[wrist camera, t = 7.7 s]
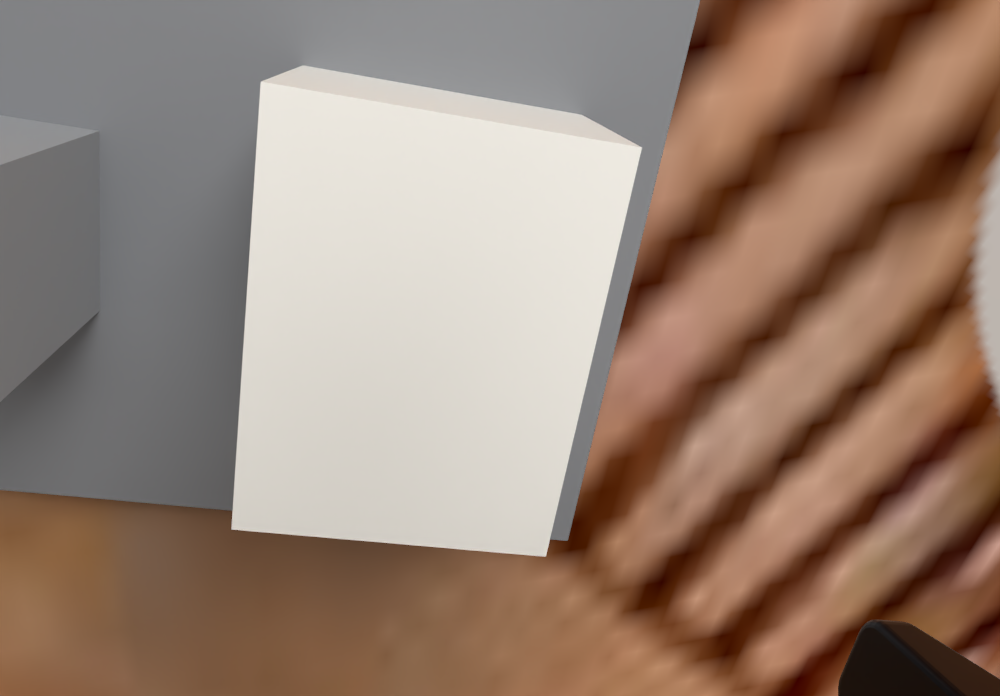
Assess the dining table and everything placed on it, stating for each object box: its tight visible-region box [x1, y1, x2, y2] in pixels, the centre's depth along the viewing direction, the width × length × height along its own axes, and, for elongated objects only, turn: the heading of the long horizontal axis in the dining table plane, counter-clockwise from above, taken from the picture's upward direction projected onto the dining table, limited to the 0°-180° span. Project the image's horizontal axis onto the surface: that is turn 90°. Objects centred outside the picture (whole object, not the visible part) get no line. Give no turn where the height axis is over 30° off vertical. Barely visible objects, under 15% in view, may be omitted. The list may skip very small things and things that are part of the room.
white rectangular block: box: [231, 65, 642, 557], centre depth 16 cm, size 8×6×5 cm
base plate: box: [0, 0, 700, 541], centre depth 16 cm, size 14×24×6 cm, turn 80°
